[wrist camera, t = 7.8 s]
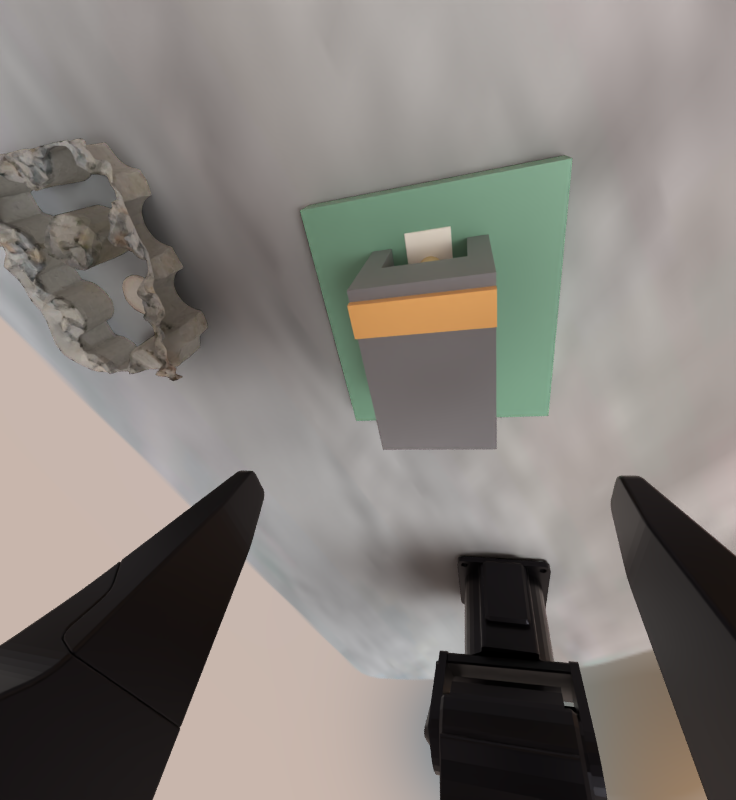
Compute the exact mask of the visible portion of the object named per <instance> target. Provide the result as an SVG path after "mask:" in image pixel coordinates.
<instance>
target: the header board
mask: <svg viewBox="0 0 736 800" xmlns="http://www.w3.org/2000/svg"><path fill="white" fill-rule="evenodd" d="M571 168H572V158H570V157H568V156H565V155H564V156H559V157H554V158H549V159H543V160H538V161H533V162H528V163H523V164H518V165H513V166H508V167H502V168H497V169H492V170H487V171H482V172H477V173H472V174H467V175H461V176H456V177H451V178H446V179H441V180H436V181H431V182H426V183H420V184H415V185H410V186H405V187H400V188H395V189H390V190H385V191H380V192H374V193H369V194H364V195H359V196H354V197H349V198H344V199H339V200H333V201H328V202H323V203H318V204H313V205H309V206H307V207H305V208H304V209H302V210H300V213H301V216H302V220H303V224H304V228H305V231H306V235H307V239H308V242H309V246H310V250H311V254H312V257H313V261H314V265H315V269H316V272H317V276H318V280H319V284H320V287H321V291H322V295H323V298H324V302H325V306H326V310H327V313H328V317H329V321H330V325H331V328H332V332H333V336H334V339H335V343H336V347H337V351H338V354H339V358H340V362H341V366H342V369H343V373H344V377H345V380H346V384H347V388H348V392H349V395H350V399H351V403H352V407H353V410H354V414H355V418H356V421H369V420H376V417H375V412H374V408H373V404H372V399H371V395H370V390H369V386H368V382H367V377H366V373H365V368H364V364H363V360H362V355H361V351H360V347H359V342H358V339H355V337H354V333H353V329H352V324H351V320H350V316H349V311H348V307H347V306H348V304H349V298H348V294H347V290H348V288H349V287H350V285H351V284H352V282H353V281H354V279H355V278H356V276H357V275H358V273H359V272H360V270H361V269H362V267H363V266H364V264H365V263H366V261H367V260H368V258H369V257H370V255H371V254H372V252H374V251H380V250H387V249H392V254H393V261H394V266H399V265H407V264H414V263H421V262H429V261H436V260H443V259H451V258H458V257H465V256H467V237H474V236H480V235H487V234H489V239H490V244H491V249H492V254H493V258H494V263H495V268H496V286H497V327H496V410H497V417H524V416H548V413H549V402H550V392H551V381H552V370H553V360H554V349H555V338H556V328H557V317H558V306H559V296H560V285H561V275H562V264H563V253H564V243H565V232H566V221H567V211H568V200H569V189H570V179H571Z"/></svg>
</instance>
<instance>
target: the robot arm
mask: <svg viewBox="0 0 736 800" xmlns="http://www.w3.org/2000/svg"><path fill="white" fill-rule="evenodd" d="M263 500H264V490H263V488H262V486H261V484H260V482H259V480H258V478H257V476H256V474H255V473H254V472H253V471H238V472H237V473H235V474H234V475H233V476H231V477H230V478H229V479H227V480H226V481H225V482H223V483H222V484H221V485H220V486H218V487H217V488H216V489H214V490H213V491H212V492H210V493H209V494H208V495H206V496H205V497H204V498H202V499H201V500H200V501H199V502H197V503H196V504H195V505H193V506H192V507H191V508H190V509H188V510H187V511H185V512H184V513H183V514H182V515H180V516H179V517H178V518H176V519H175V520H174V521H172V522H171V523H170V524H168V525H167V526H166V527H165V528H163V529H162V530H160V531H159V532H158V533H157V534H155V535H154V536H153V537H152V538H150V539H149V540H147V541H146V542H145V543H143V544H142V545H141V546H140V547H138V548H137V549H136V550H134V551H133V552H132V553H130V554H129V555H128V556H126V557H125V558H124V559H122V561H121V562H118V563H117V564H116V565H114V566H113V567H112V568H111V569H109V570H108V571H107V572H105V573H104V574H103V575H102V576H100V577H99V578H97V579H96V580H95V581H93V582H92V583H91V584H89V585H88V586H86V587H85V588H84V589H82V590H81V591H79V592H78V593H77V594H75V595H74V596H72V597H71V598H69V599H68V600H66V601H65V602H64V603H62V604H61V605H59V606H58V607H57V608H55V609H53V610H52V611H50V612H49V613H48V614H46V615H45V616H43V617H42V618H40V619H39V620H37V621H36V622H34V623H33V624H31V625H30V626H28V627H27V628H25V629H24V630H23V631H21V632H20V633H18V634H17V635H15V636H14V637H12V638H11V639H9V640H8V641H6V642H5V643H3V644H2V645H0V800H153V797H154V795H155V792H156V790H157V787H158V785H159V782H160V779H161V777H162V774H163V772H164V769H165V766H166V764H167V761H168V759H169V756H170V754H171V751H172V748H173V746H174V743H175V741H176V738H177V736H178V733H179V731H180V726H181V725H182V722H183V720H184V717H185V714H186V712H187V709H188V706H189V704H190V701H191V699H192V696H193V694H194V691H195V689H196V686H197V684H198V681H199V678H200V676H201V673H202V671H203V668H204V665H205V663H206V660H207V658H208V655H209V653H210V650H211V648H212V645H213V642H214V639H215V637H216V635H217V632H218V630H219V627H220V624H221V622H222V619H223V617H224V614H225V612H226V609H227V606H228V604H229V601H230V599H231V596H232V593H233V591H234V588H235V586H236V583H237V581H238V578H239V575H240V573H241V570H242V568H243V565H244V563H245V560H246V557H247V555H248V552H249V549H250V546H251V543H252V540H253V536H254V532H255V529H256V525H257V522H258V518H259V514H260V511H261V507H262V504H263ZM611 511H612V516H613V520H614V524H615V528H616V533H617V537H618V541H619V546H620V550H621V554H622V558H623V563H624V567H625V571H626V575H627V578H628V581H629V584H630V587H631V590H632V593H633V596H634V599H635V601H636V604H637V607H638V610H639V612H640V615H641V618H642V621H643V623H644V626H645V629H646V631H647V634H648V637H649V640H650V642H651V645H652V648H653V651H654V653H655V656H656V659H657V661H658V664H659V667H660V670H661V672H662V675H663V678H664V681H665V684H666V686H667V689H668V692H669V695H670V697H671V700H672V702H673V706H674V708H675V711H676V714H677V717H678V719H679V722H680V725H681V728H682V730H683V733H684V735H685V738H686V741H687V744H688V747H689V749H690V752H691V755H692V758H693V761H694V763H695V766H696V769H697V772H698V774H699V777H700V780H701V783H702V785H703V788H704V791H705V793H706V796H707V799H708V800H736V555H734V554H733V553H732V552H731V551H730V550H728V549H727V548H726V547H725V546H724V545H722V544H721V543H720V542H719V541H718V540H716V539H715V538H714V537H713V536H712V535H710V534H709V533H708V532H707V531H706V530H704V529H703V528H702V527H701V526H700V525H698V524H697V523H696V522H695V521H694V520H692V519H691V518H690V517H689V516H688V515H686V514H685V513H684V512H683V511H682V510H680V509H679V508H678V507H677V506H676V505H674V504H673V503H672V502H671V501H670V500H668V499H667V498H666V497H665V496H664V495H663V494H661V493H660V492H659V491H658V490H657V489H655V488H654V487H653V486H652V485H651V484H649V483H648V482H647V481H646V480H645V479H643V478H642V477H640V476H619V477H618V478H617V479H616V482H615V486H614V490H613V494H612V498H611ZM458 573H459V582H460V592H461V601H462V603H463V604H465V654H457V653H448V651H440V654H439V661H436V670H435V677H434V685H433V691H432V699H431V705H430V709H429V712H428V717H427V720H426V724H425V729H424V734H425V738H426V740H427V742H428V743H429V745H430V749H431V758H432V764H433V769H434V771H435V774H436V775H440V800H607V794H606V788H605V782H604V777H603V771H602V766H601V761H600V756H599V751H598V747H597V742H596V738H595V733H594V728H593V724H592V720H591V716H590V712H589V707H588V703H587V698H586V695H585V690H584V686H583V681H582V677H581V673H580V668H579V664H578V662H571V661H569V663H563V662H554V658H553V652H552V646H551V640H550V634H549V628H548V622H547V616H546V610H545V609H546V601H547V594H548V587H549V580H550V573H551V571H550V566H549V564H548V563H546V562H537V561H523V560H509V559H494V558H480V557H466V556H461V557H459V558H458ZM563 701H565V702H573V703H574V707H570V706H564V703H563Z"/></svg>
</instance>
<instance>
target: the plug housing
mask: <svg viewBox="0 0 736 800" xmlns="http://www.w3.org/2000/svg"><path fill="white" fill-rule="evenodd" d="M347 294H348V298H349V304H348V306H347V307H348V311H349V316H350V320H351V324H352V329H353V333H354V337H355V339H358V342H359V347H360V351H361V355H362V360H363V364H364V368H365V373H366V377H367V382H368V386H369V390H370V395H371V399H372V404H373V408H374V412H375V417H376V421H377V425H378V430H379V434H380V439H381V443H382V447H383V450H396V449H497V410H496V327H497V286H496V268H495V263H494V258H493V254H492V249H491V244H490V239H489V234H487V235H480V236H474V237H467V256H465V257H458V258H451V259H443V260H436V261H429V262H421V263H414V264H407V265H399V266H394V261H393V254H392V249H387V250H380V251H374V252H372V254H371V255H370V257H369V258H368V260H367V261H366V263H365V264H364V266H363V267H362V269H361V270H360V272H359V273H358V275H357V276H356V278H355V279H354V281H353V282H352V284H351V285H350V287H349V288H348V290H347Z"/></svg>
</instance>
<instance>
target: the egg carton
mask: <svg viewBox="0 0 736 800" xmlns="http://www.w3.org/2000/svg"><path fill="white" fill-rule="evenodd" d="M91 174H100V175H106V176H107V177H108V179H109V182H110V184H111V186H112V187H113V188H114V190H115V194H116V197H117V200H115V201H113V202H111V203H112V209H110V208H108V207H105V206H100V205H94V206H91V207H87V208H83V209H79V210H75V211H71V212H67V213H63V214H59V215H55V216H52V215H48V214H45V213H42V211H41V210H40V208H39V207H38V205H37V203H36V202H35V200H34V198H33V196H32V195H31V191H33V190H35V191H38V190H41V189H44V188H48V187H53V186H57V185H64V184H69V183H75V182H80V181H85V180H87V179H88V178H89V177H90V175H91ZM149 196H151V192H150V189H149V186H148V183H147V181H146V179H145V177H144V175H143V174H142V172H141V171H140V169H136V168H131V167H129V166H127V165H125V164H124V163H122V162H121V161H120V160H119V159H118V158H117V157H116V156H115V154H114V153H113V152H112V150H111V149H110V148H109V146H108V145H107V144H106V143H98V144H90V145H86V143H85V141H84V140H83V139H81V138H80V139H75V140H71V141H69V140H66V141H61V142H56V143H52V144H48V145H43V146H40V147H37V148H34V149H22V150H18V151H14V152H10V153H7V154H0V246H2V247H4V250H5V252H6V257H5V261H4V267H5V268H6V269H7V270H8V271H9V272H10V273H11V274H13V275H14V276H15V277H16V278H17V279H18V280H19V281H20V283H21V284H22V285H23V287H24V288H25V290H26V292H27V294H28V296H29V297H30V299H31V301H32V302H33V303H34V304H35V305H36V306H37V307H38V308H39V309H40V311H41V312H42V314H43V315H44V317H45V319H46V321H47V324H48V326H49V329H50V331H51V334H52V336H53V339H54V341H55V344H56V345H57V347H58V348H59V349H60V350H61V352H62V353H63V354H64V355H65V356H67V357H68V358H70V359H71V360H73V361H75V362H77V363H79V364H81V365H83V366H85V367H87V368H89V369H91V370H94V371H97V372H108V373H109V374H112V373H115V372H123V371H128V372H129V374H134V373H138V372H141V371H144V370H147V369H159V371H158V372H157V373H156V375H157V376H161V377H168V378H170V380H172V381H175V380H178V379H179V378H182V376H180V375H177V374H176V368H175V367H177V366H179V365H180V364H181V363H182V362H183V361H184V360H186V359H188V358H189V357H190V356H191V355H192V354H193V353H194V352H196V351H197V350H198V349H199V348H200V335H201V334H202V333H203V332H204V331H205V330H206V329H207V328H208V326H207V322H206V319H205V317H204V315H203V313H202V311H200V310H196V309H194V308H192V307H190V306H188V305H186V304H185V303H184V302H183V301H182V300H181V298H180V297H179V296H178V294H177V292H176V290H175V287H174V277H175V274H176V272H177V271H179V270H180V269H182V268H183V266H182V264H181V262H180V260H179V259H178V257H177V256H176V254H175V252H174V250H173V248H172V247H171V246H167V245H164V244H163V243H161V242H159V241H157V240H156V239H155V238H154V237H153V236H152V234H151V233H150V232H149V231H148V229H147V227H146V225H145V223H144V221H143V216H142V206H143V203H144V201H145V200H146V199H147V198H148V197H149ZM128 250H129V251H131V252H133V253H134V254H135V255H136V256H137V257H138V258H140V259H143V260H146V261H147V266H148V273H147V276H146V278H144V277H141V276H138V275H131V276H128V277H127V278H126V279H125V280H124V281H123V286H122V288H123V292H124V296H125V299H126V300H127V302H128V303H129V304H130V305H131V306H132V307H133V308H134V309H135V310H137V311H139V312H140V313H143V314H145V315H144V319H145V320H146V321H148V322H149V323H150V324H151V325H152V327H153V329H154V333H155V335H154V336H153V337H151V338H150V339H148V340H147V341H145V342H144V343H142V344H141V345H139V346H138V347H137V346H136V345H135V344H134V343H133V342H132V341H131V340H129V339H127V338H125V337H123V336H117V335H115V334H114V333H113V331H112V330H111V328H110V326H109V325H108V323H107V320H108V319H110V318H111V317H112V316H113V314H114V306H113V303H112V300H111V299H110V297H109V296H108V295H107V294H106V292H105V291H104V290H103V289H102V288H100V287H99V286H98V285H96V284H94V283H92V282H88V281H85V280H82V279H81V277H80V276H79V274H78V272H77V271H76V269H79V270H87V269H89V268H91V267H94V266H96V265H98V264H100V263H103V262H105V261H108V260H110V259H113V258H115V257H117V256H119V255H122V254H124V253H125V252H127V251H128Z"/></svg>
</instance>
